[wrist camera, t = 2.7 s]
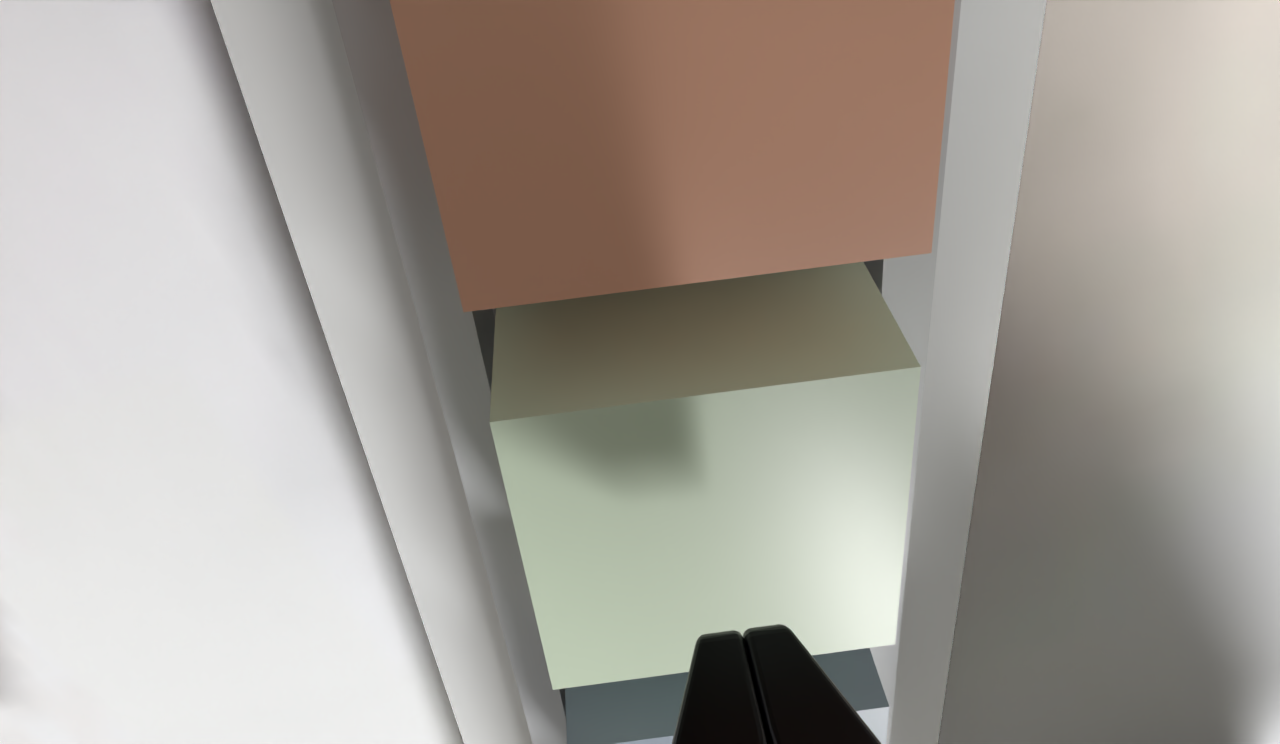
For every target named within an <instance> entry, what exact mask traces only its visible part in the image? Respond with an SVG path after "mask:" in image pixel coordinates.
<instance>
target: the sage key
mask: <svg viewBox="0 0 1280 744" xmlns="http://www.w3.org/2000/svg"><path fill="white" fill-rule="evenodd" d="M920 371H921V366H920V364H919V362H918V361H917V359H916V357H915V355H914V353H913V351H912V350H911V348H910V346H909V344H908V342H907V340H906V339H905V337H904V335H903V333H902V331H901V330H900V328H899V326H898V324H897V322H896V320H895V319H894V317H893V315H892V313H891V311H890V309H889V308H888V306H887V304H886V302H885V300H884V299H883V297H882V295H881V293H880V291H879V289H878V288H877V286H876V284H875V282H874V280H873V278H872V277H871V275H870V273H869V271H868V269H867V267H866V266H865V264H864V262H857V263H849V264H841V265H833V266H825V267H818V268H810V269H802V270H794V271H786V272H778V273H770V274H762V275H754V276H746V277H738V278H731V279H723V280H715V281H707V282H699V283H691V284H683V285H675V286H667V287H659V288H652V289H644V290H636V291H628V292H620V293H612V294H604V295H596V296H588V297H580V298H573V299H565V300H557V301H549V302H541V303H533V304H525V305H517V306H509V307H501V308H496V315H495V333H494V351H493V368H492V386H491V404H490V421H489V422H490V427H491V431H492V435H493V439H494V443H495V448H496V452H497V456H498V460H499V465H500V469H501V473H502V477H503V481H504V486H505V490H506V494H507V498H508V503H509V507H510V511H511V515H512V519H513V524H514V528H515V532H516V536H517V541H518V545H519V549H520V553H521V557H522V562H523V566H524V570H525V574H526V579H527V583H528V587H529V591H530V596H531V600H532V604H533V608H534V612H535V617H536V621H537V625H538V629H539V634H540V638H541V642H542V646H543V650H544V655H545V659H546V663H547V667H548V672H549V676H550V680H551V684H552V688H553V690H556V689H563V688H571V687H578V686H586V685H593V684H601V683H609V682H616V681H624V680H631V679H639V678H646V677H654V676H661V675H669V674H676V673H684V672H689V669H690V665H691V660H692V656H693V652H694V648H695V644H696V641H697V639H698V638H699V637H700V636H701V635H703V634H708V633H716V632H724V631H731V630H734V631H738V632H740V633H741V635H742V636H743V633H744V631H746V630H747V629H749V628H754V627H762V626H769V625H777V624H782V625H785V626H787V627H788V628H789V629H791V630H792V631H793V633H794V634H795V635H796V636H797V638H798V639H799V640H800V641H801V643H802V644H803V645H804V646H805V648H806V649H807V650H808V651H809V653H810V654H811V655H819V654H827V653H834V652H842V651H849V650H857V649H864V648H872V647H879V646H887V645H894V644H895V641H896V630H897V619H898V609H899V598H900V587H901V576H902V566H903V555H904V544H905V533H906V522H907V512H908V501H909V490H910V479H911V468H912V458H913V447H914V436H915V425H916V414H917V404H918V393H919V382H920Z"/></svg>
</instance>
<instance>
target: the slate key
mask: <svg viewBox="0 0 1280 744" xmlns="http://www.w3.org/2000/svg"><path fill="white" fill-rule="evenodd" d="M812 656H813V658H814V659H815V660H816V661H817V663H818V664H819V665H820V667H821V668H822V669H823V670H824V672H825V673H826V674H827V675H828V677H829V678H830V679H831V680H832V682H833V683H834V684H835V685H836V687H837V688H838V689H839V690H840V692H841V693H842V694H843V696H844V697H845V698H846V699H847V701H848V702H849V703H850V704H851V706H852V707H853V708H854V709H855V711H856V712H857V713H858V714H859V716H860V717H861V718H862V719H863V721H864V722H865V723H866V725H867V726H868V727H869V728H870V730H871V731H872V732H873V733H874V735H875V736H876V737H877V738H878V740H879V741H880V742H881V743H882V744H886V738H887V727H888V717H889V704H888V701H887V698H886V695H885V692H884V689H883V686H882V683H881V680H880V678H879V675H878V672H877V669H876V666H875V663H874V660H873V657H872V654H871V651H870V648H864V649H857V650H849V651H842V652H834V653H827V654H819V655H812ZM688 673H689V672H684V673H676V674H669V675H661V676H654V677H646V678H639V679H631V680H624V681H616V682H609V683H601V684H593V685H586V686H578V687H571V688H565V701H566V732H567V744H672V740H673V736H674V732H675V728H676V723H677V719H678V715H679V711H680V707H681V702H682V698H683V694H684V690H685V686H686V681H687V677H688Z"/></svg>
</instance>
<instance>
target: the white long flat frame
mask: <svg viewBox="0 0 1280 744" xmlns="http://www.w3.org/2000/svg"><path fill="white" fill-rule="evenodd" d="M210 1H211V4H212V6H213V9H214V12H215V15H216V18H217V21H218V24H219V27H220V30H221V33H222V36H223V39H224V42H225V45H226V47H227V50H228V53H229V56H230V59H231V62H232V65H233V68H234V71H235V74H236V77H237V80H238V83H239V86H240V89H241V91H242V94H243V97H244V100H245V103H246V106H247V109H248V112H249V115H250V118H251V121H252V124H253V127H254V130H255V132H256V135H257V138H258V141H259V144H260V147H261V150H262V153H263V156H264V159H265V162H266V165H267V168H268V171H269V174H270V176H271V179H272V182H273V185H274V188H275V191H276V194H277V197H278V200H279V203H280V206H281V209H282V212H283V215H284V217H285V220H286V223H287V226H288V229H289V232H290V235H291V238H292V241H293V244H294V247H295V250H296V253H297V256H298V259H299V261H300V264H301V267H302V270H303V273H304V276H305V279H306V282H307V285H308V288H309V291H310V294H311V297H312V300H313V302H314V305H315V308H316V311H317V314H318V317H319V320H320V323H321V326H322V329H323V332H324V335H325V338H326V341H327V344H328V346H329V349H330V352H331V355H332V358H333V361H334V364H335V367H336V370H337V373H338V376H339V379H340V382H341V385H342V387H343V390H344V393H345V396H346V399H347V402H348V405H349V408H350V411H351V414H352V417H353V420H354V423H355V426H356V429H357V431H358V434H359V437H360V440H361V443H362V446H363V449H364V452H365V455H366V458H367V461H368V464H369V467H370V470H371V472H372V475H373V478H374V481H375V484H376V487H377V490H378V493H379V496H380V499H381V502H382V505H383V508H384V511H385V514H386V516H387V519H388V522H389V525H390V528H391V531H392V534H393V537H394V540H395V543H396V546H397V549H398V552H399V555H400V557H401V560H402V563H403V566H404V569H405V572H406V575H407V578H408V581H409V584H410V587H411V590H412V593H413V596H414V599H415V601H416V604H417V607H418V610H419V613H420V616H421V619H422V622H423V625H424V628H425V631H426V634H427V637H428V640H429V642H430V645H431V648H432V651H433V654H434V657H435V660H436V663H437V666H438V669H439V672H440V675H441V678H442V681H443V684H444V686H445V689H446V692H447V695H448V698H449V701H450V704H451V707H452V710H453V713H454V716H455V719H456V722H457V725H458V727H459V730H460V733H461V736H462V739H463V742H464V744H567V732H566V701H565V688H563V689H556V690H553V688H552V684H551V680H550V676H549V672H548V667H547V663H546V659H545V655H544V650H543V646H542V642H541V638H540V634H539V629H538V625H537V621H536V617H535V612H534V608H533V604H532V600H531V596H530V591H529V587H528V583H527V579H526V574H525V570H524V566H523V562H522V557H521V553H520V549H519V545H518V541H517V536H516V532H515V528H514V524H513V519H512V515H511V511H510V507H509V503H508V498H507V494H506V490H505V486H504V481H503V477H502V473H501V469H500V465H499V460H498V456H497V452H496V448H495V443H494V439H493V435H492V431H491V427H490V422H489V421H490V404H491V386H492V368H493V351H494V333H495V315H496V308H494V309H486V310H478V311H470V312H463V308H462V304H461V300H460V296H459V291H458V287H457V283H456V279H455V275H454V270H453V266H452V262H451V258H450V253H449V249H448V245H447V241H446V237H445V232H444V228H443V224H442V220H441V215H440V211H439V207H438V203H437V199H436V194H435V190H434V186H433V182H432V177H431V173H430V169H429V165H428V160H427V156H426V152H425V148H424V144H423V139H422V135H421V131H420V127H419V122H418V118H417V114H416V110H415V106H414V101H413V97H412V93H411V89H410V84H409V80H408V76H407V72H406V68H405V63H404V59H403V55H402V51H401V46H400V42H399V38H398V34H397V30H396V25H395V21H394V17H393V13H392V8H391V4H390V0H210ZM1046 2H1047V0H955V4H954V15H953V26H952V37H951V47H950V58H949V69H948V80H947V91H946V101H945V112H944V123H943V134H942V145H941V155H940V166H939V177H938V188H937V199H936V209H935V220H934V231H933V242H932V252H931V253H928V254H920V255H912V256H904V257H897V258H889V259H881V260H873V261H865V262H864V264H865V266H866V267H867V269H868V271H869V273H870V275H871V277H872V278H873V280H874V282H875V284H876V286H877V288H878V289H879V291H880V293H881V295H882V297H883V299H884V300H885V302H886V304H887V306H888V308H889V309H890V311H891V313H892V315H893V317H894V319H895V320H896V322H897V324H898V326H899V328H900V330H901V331H902V333H903V335H904V337H905V339H906V340H907V342H908V344H909V346H910V348H911V350H912V351H913V353H914V355H915V357H916V359H917V361H918V362H919V364H920V366H921V371H920V382H919V393H918V404H917V414H916V425H915V436H914V447H913V458H912V468H911V479H910V490H909V501H908V512H907V522H906V533H905V544H904V555H903V566H902V576H901V587H900V598H899V609H898V619H897V630H896V641H895V644H894V645H887V646H879V647H872V648H870V651H871V654H872V657H873V660H874V663H875V666H876V669H877V672H878V675H879V678H880V680H881V683H882V686H883V689H884V692H885V695H886V698H887V701H888V704H889V717H888V727H887V738H886V744H938V741H939V734H940V727H941V721H942V714H943V707H944V700H945V693H946V686H947V679H948V673H949V666H950V659H951V652H952V645H953V638H954V632H955V625H956V618H957V611H958V604H959V597H960V591H961V584H962V577H963V570H964V563H965V556H966V550H967V543H968V536H969V529H970V522H971V515H972V509H973V502H974V495H975V488H976V481H977V474H978V467H979V461H980V454H981V447H982V440H983V433H984V426H985V420H986V413H987V406H988V399H989V392H990V385H991V379H992V372H993V365H994V358H995V351H996V344H997V338H998V331H999V324H1000V317H1001V310H1002V303H1003V296H1004V290H1005V283H1006V276H1007V269H1008V262H1009V255H1010V249H1011V242H1012V235H1013V228H1014V221H1015V214H1016V208H1017V201H1018V194H1019V187H1020V180H1021V173H1022V167H1023V160H1024V153H1025V146H1026V139H1027V132H1028V126H1029V119H1030V112H1031V105H1032V98H1033V91H1034V84H1035V78H1036V71H1037V64H1038V57H1039V50H1040V43H1041V37H1042V30H1043V23H1044V16H1045V9H1046Z"/></svg>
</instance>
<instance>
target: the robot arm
mask: <svg viewBox="0 0 1280 744" xmlns="http://www.w3.org/2000/svg"><path fill="white" fill-rule="evenodd" d="M672 744H882V743H881V742H880V741H879V740H878V738H877V737H876V736H875V735H874V733H873V732H872V731H871V730H870V728H869V727H868V726H867V725H866V723H865V722H864V721H863V719H862V718H861V717H860V716H859V714H858V713H857V712H856V711H855V709H854V708H853V707H852V706H851V704H850V703H849V702H848V701H847V699H846V698H845V697H844V696H843V694H842V693H841V692H840V690H839V689H838V688H837V687H836V685H835V684H834V683H833V682H832V680H831V679H830V678H829V677H828V675H827V674H826V673H825V672H824V670H823V669H822V668H821V667H820V665H819V664H818V663H817V661H816V660H815V659H814V658H813V656H812V655H811V654H810V653H809V651H808V650H807V649H806V648H805V646H804V645H803V644H802V643H801V641H800V640H799V639H798V638H797V636H796V635H795V634H794V633H793V631H792V630H791V629H789V628H788V627H787V626H785V625H782V624H777V625H769V626H762V627H754V628H749V629H747V630H746V631H744V633H743V636H742V635H741V633H740V632H738V631H734V630H731V631H724V632H716V633H708V634H703V635H701V636H700V637H699V638H698V639H697V641H696V644H695V648H694V652H693V656H692V660H691V665H690V669H689V673H688V677H687V681H686V686H685V690H684V694H683V698H682V702H681V707H680V711H679V715H678V719H677V723H676V728H675V732H674V736H673V740H672Z"/></svg>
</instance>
